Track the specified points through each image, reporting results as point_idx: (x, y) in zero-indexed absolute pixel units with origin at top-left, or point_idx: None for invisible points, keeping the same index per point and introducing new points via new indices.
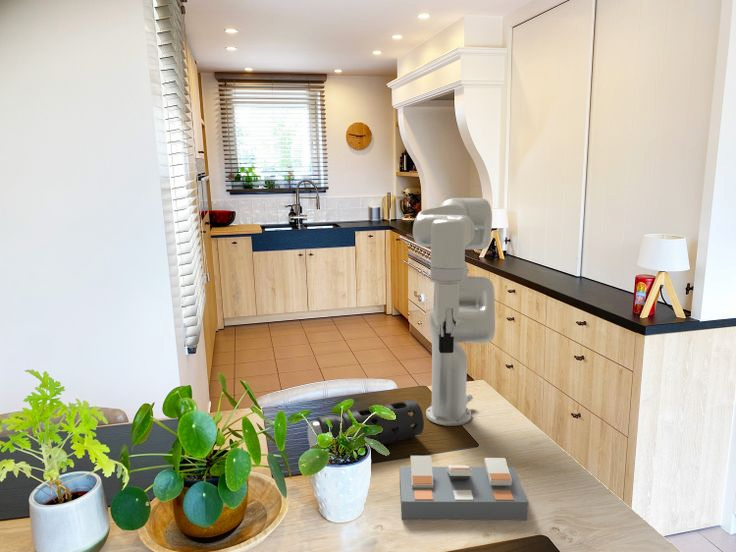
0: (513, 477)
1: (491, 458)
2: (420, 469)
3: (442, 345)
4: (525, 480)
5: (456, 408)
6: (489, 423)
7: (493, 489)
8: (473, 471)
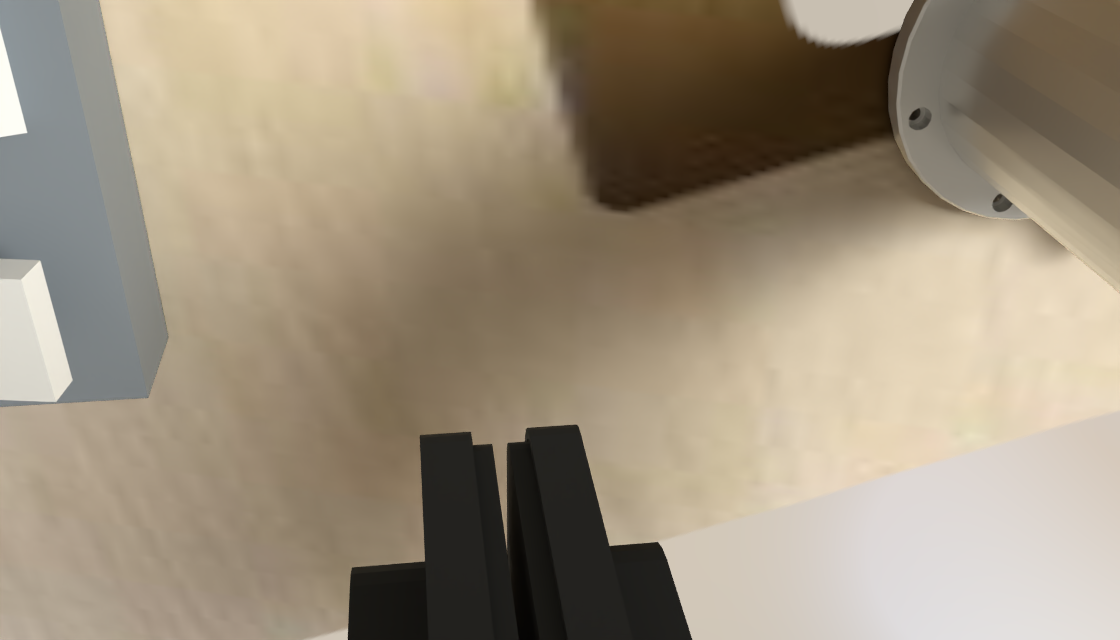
0: None
1: (24, 321)
2: None
3: (426, 604)
4: (215, 401)
5: (981, 143)
6: (884, 305)
7: None
8: (30, 161)
